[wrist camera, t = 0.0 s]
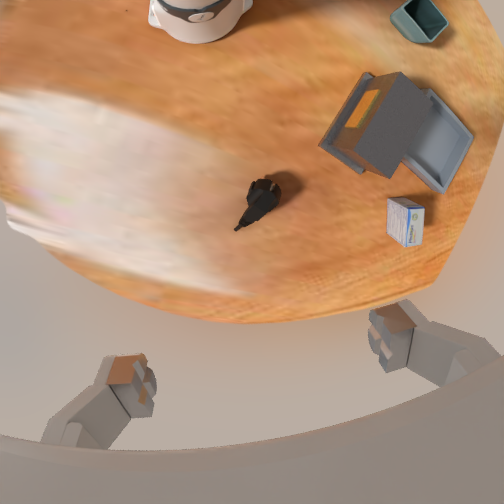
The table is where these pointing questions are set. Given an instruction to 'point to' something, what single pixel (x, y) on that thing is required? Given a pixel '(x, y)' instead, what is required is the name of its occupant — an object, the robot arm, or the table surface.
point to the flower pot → (419, 21)
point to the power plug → (260, 201)
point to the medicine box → (405, 221)
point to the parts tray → (438, 146)
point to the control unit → (377, 123)
